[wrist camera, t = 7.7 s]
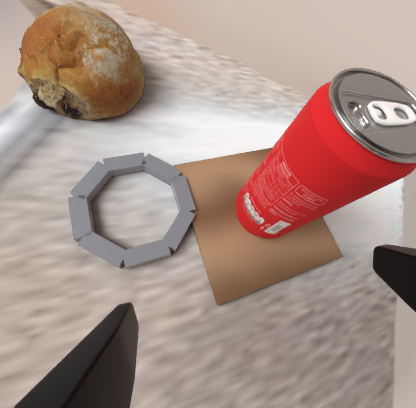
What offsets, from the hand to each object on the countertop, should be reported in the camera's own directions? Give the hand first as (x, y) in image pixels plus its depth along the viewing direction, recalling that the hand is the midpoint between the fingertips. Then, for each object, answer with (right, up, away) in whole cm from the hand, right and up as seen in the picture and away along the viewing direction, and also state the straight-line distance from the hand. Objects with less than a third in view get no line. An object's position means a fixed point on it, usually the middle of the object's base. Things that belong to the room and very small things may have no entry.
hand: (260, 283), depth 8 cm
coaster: (+2, +2, +12) cm, 13 cm away
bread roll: (-13, +14, +14) cm, 24 cm away
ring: (-8, +3, +10) cm, 13 cm away
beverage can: (+3, +2, +12) cm, 12 cm away
